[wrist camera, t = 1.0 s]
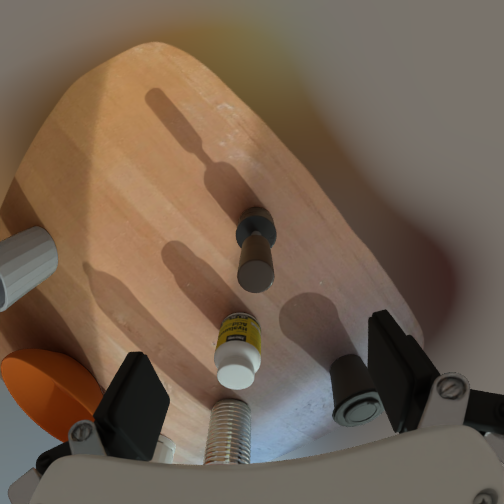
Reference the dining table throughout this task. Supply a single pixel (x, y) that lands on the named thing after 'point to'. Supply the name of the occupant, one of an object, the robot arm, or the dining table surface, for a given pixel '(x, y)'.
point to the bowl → (51, 389)
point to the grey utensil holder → (25, 263)
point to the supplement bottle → (238, 351)
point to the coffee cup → (353, 392)
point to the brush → (255, 249)
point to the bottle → (164, 451)
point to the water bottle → (229, 434)
